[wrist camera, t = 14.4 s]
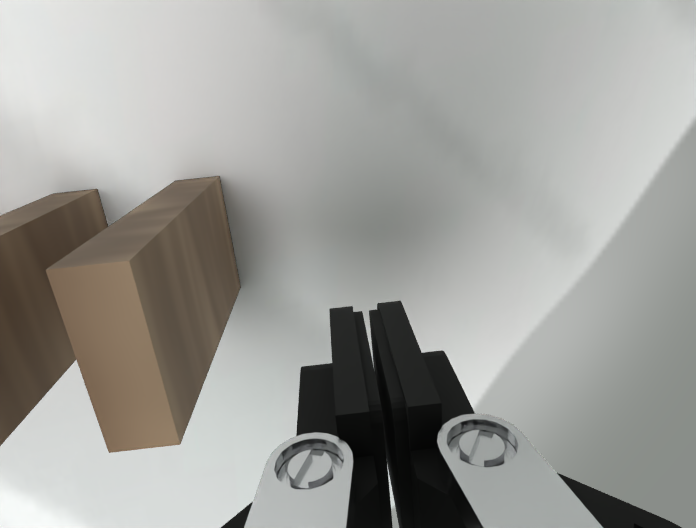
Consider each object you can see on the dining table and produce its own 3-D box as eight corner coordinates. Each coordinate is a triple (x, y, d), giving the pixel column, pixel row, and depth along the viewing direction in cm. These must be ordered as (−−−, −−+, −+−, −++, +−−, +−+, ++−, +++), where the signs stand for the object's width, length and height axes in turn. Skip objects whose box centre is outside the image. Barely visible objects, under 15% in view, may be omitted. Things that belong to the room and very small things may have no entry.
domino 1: (97, 189, 20) (-105, 285, 10) (128, 299, 21) (-19, 467, 12) (52, 193, 20) (-190, 295, 10) (88, 303, 21) (-91, 475, 12)
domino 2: (219, 176, 20) (129, 260, 10) (240, 287, 22) (179, 444, 12) (175, 180, 20) (45, 269, 10) (200, 291, 21) (108, 452, 12)
